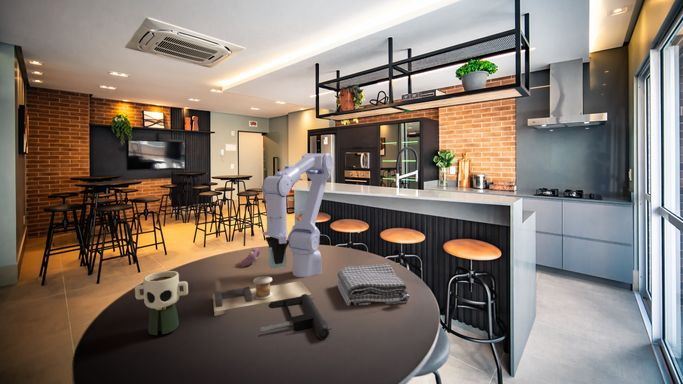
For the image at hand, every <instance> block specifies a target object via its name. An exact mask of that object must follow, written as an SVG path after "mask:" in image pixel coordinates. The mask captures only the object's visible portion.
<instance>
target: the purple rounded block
mask: <svg viewBox="0 0 683 384" xmlns="http://www.w3.org/2000/svg"><path fill="white" fill-rule="evenodd" d="M261 252H262V249H261V248H259V247H254V248H251V251H250V252H249V254H248V255H247V256H246V257H245V258H244V259H243V260H241V262H240V266H241V267H242V268H243V267H244V268H245V267H247V266H249V265H251V266H252V265H253V264H254V263H256V262H257V260H258V257H259V256H260V255H261Z"/></svg>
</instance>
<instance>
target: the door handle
mask: <svg viewBox="0 0 683 384" xmlns="http://www.w3.org/2000/svg"><path fill="white" fill-rule="evenodd" d="M314 299H315V298H311V297H310V295H307V294H303V295H301V296H300V297H295V298H289V299H283V300H278V301H272V302H269V304H268V306H269V308H270V309H277V308H286V310H287V311H286V312H287V313H288V316H289V318H290V320H289V321H284V322H279V323H276V324H275V323H274V324H270V325H266V326H262V327H260V332H265V331H270V330H275V331H270V332H266V333H262V334H258V337H259V338H260V337H265V336H272V335H276V334H277V335H278V334H282V333H283V334H284V333H288V332H294V333H297V332H302V331H307V330H313V331H314V334H315V335H316V337H317V338H319V339H320V340H325V339H327V338H328V337H329V335H330V330H332V327H331V328H329V327H328V325H327V324H326V322H325V320H324V319H323V316H322V314H320V312H319V310H318V308H317V307H316V305H315V303H314V302H313V300H314ZM294 306H299V308H300V307H302V309H303V310H304V312H305V313H303V314H298V315H295V316H293V315H292V313H291V311H290V309H289V307H294ZM288 327H289V328H288ZM282 328H285V329H282ZM276 329H280V330H276Z"/></svg>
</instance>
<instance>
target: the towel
mask: <svg viewBox="0 0 683 384" xmlns="http://www.w3.org/2000/svg"><path fill="white" fill-rule="evenodd" d="M337 278H338V280H337V283H336V284H337V285H336V286H337V288H338V291H339V292H340V295H341V296H342V298H343V300H344V302H345V304H346V305H347V306H348V307H349V306H351V304H353V305H354V306H356V305H357V304H358V305H359V306H361V305H371V304H372V303H384V304H386V305H396V304H398V305H399V304H407V303H408V301H409V298H410V295H409V294H408V290H407V289H408V287H407V284H406V283H405V282H404V281H403V280H402V279H401V278H400V277H399V276H398V275H397V274H396V273H395V271H394V269H393V267H392V266H391V265H390V263H382V264H381V263H380V264H372V265H371V264H370V265H355V266H346V267H342V269H340V270H339V271H338V272H337Z"/></svg>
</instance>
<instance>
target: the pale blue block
mask: <svg viewBox="0 0 683 384" xmlns="http://www.w3.org/2000/svg"><path fill="white" fill-rule="evenodd" d="M268 266H269V268H270V269H276V268H277V269H278V268H279V269H280V268H285V267H287V249H286V250H285V254H284V259H283V263H282V264H275V262H274V257H273V251H272V248H271V247H269V246H268Z"/></svg>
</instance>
